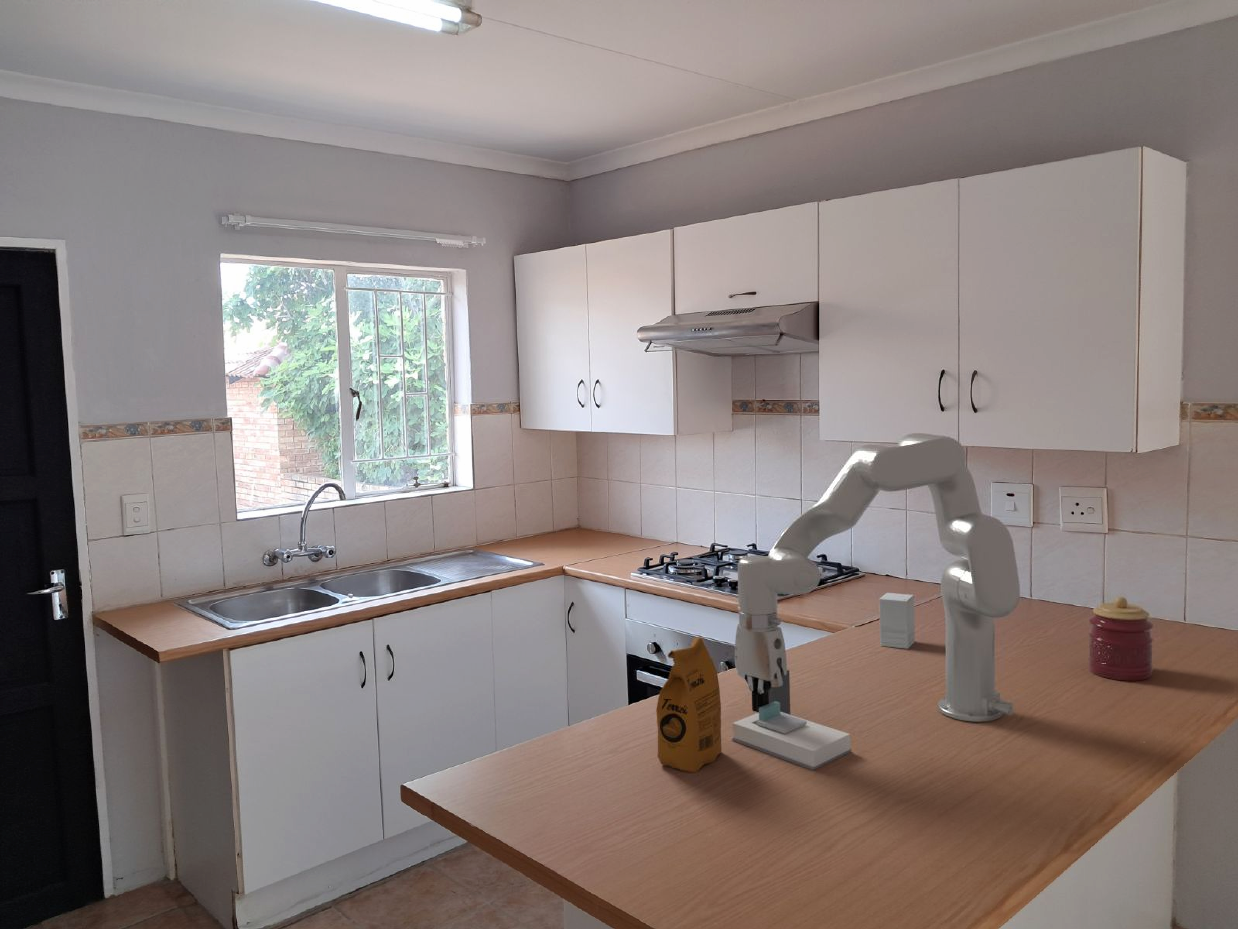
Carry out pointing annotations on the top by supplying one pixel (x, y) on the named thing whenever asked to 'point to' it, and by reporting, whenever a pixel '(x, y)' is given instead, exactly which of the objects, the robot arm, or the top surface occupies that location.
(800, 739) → the socket
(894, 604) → the supplement box
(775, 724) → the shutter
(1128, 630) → the canister
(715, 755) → the coffee package
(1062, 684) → the top surface
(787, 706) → the plug
